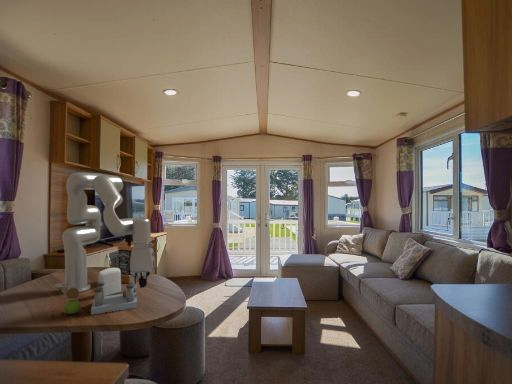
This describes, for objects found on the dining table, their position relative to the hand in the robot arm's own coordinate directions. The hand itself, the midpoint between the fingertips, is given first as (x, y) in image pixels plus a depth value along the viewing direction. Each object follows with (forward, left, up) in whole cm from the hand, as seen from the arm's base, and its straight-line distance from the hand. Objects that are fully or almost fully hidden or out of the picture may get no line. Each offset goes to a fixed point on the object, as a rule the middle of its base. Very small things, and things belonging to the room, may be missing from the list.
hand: (143, 286), depth 137 cm
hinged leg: (-5, -1, -3) cm, 6 cm away
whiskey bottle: (-5, +38, -6) cm, 38 cm away
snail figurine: (-27, -4, -6) cm, 28 cm away
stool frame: (-11, -2, -6) cm, 13 cm away
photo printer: (-14, +16, -6) cm, 22 cm away
